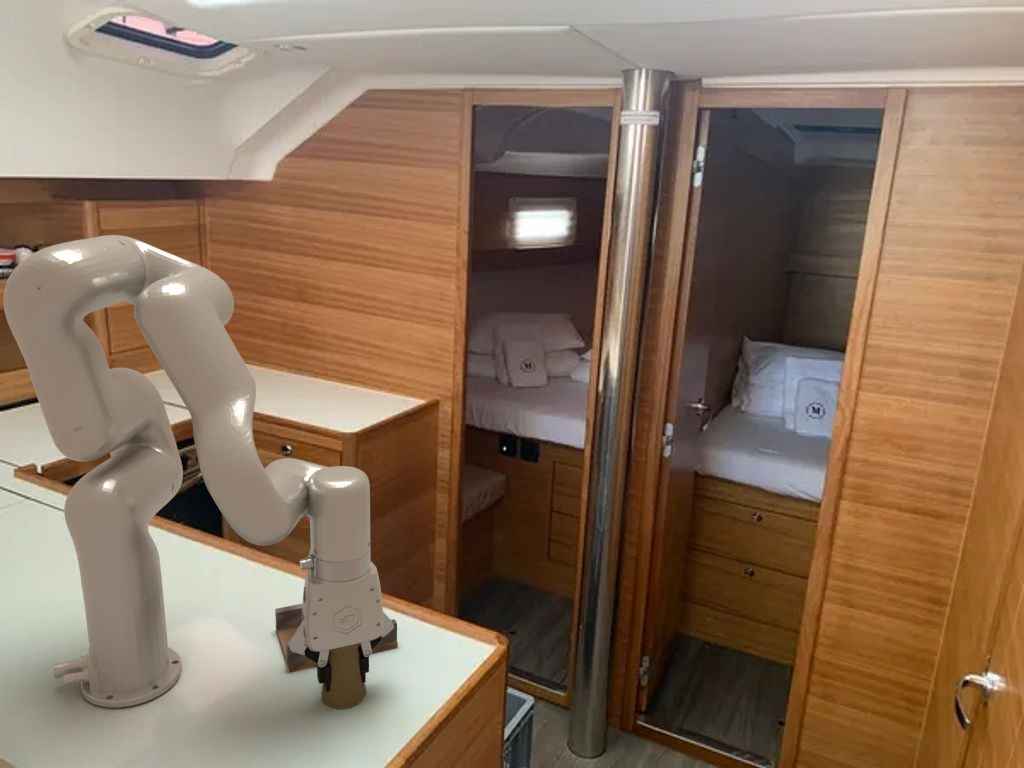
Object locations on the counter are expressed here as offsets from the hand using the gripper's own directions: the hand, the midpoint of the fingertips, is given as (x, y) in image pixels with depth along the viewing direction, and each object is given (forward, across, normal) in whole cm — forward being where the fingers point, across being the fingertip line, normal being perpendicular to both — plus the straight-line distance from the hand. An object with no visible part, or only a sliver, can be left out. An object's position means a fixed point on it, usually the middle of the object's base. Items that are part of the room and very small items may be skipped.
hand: (343, 680), depth 109 cm
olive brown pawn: (+2, 0, 0) cm, 2 cm away
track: (+2, +2, +13) cm, 13 cm away
